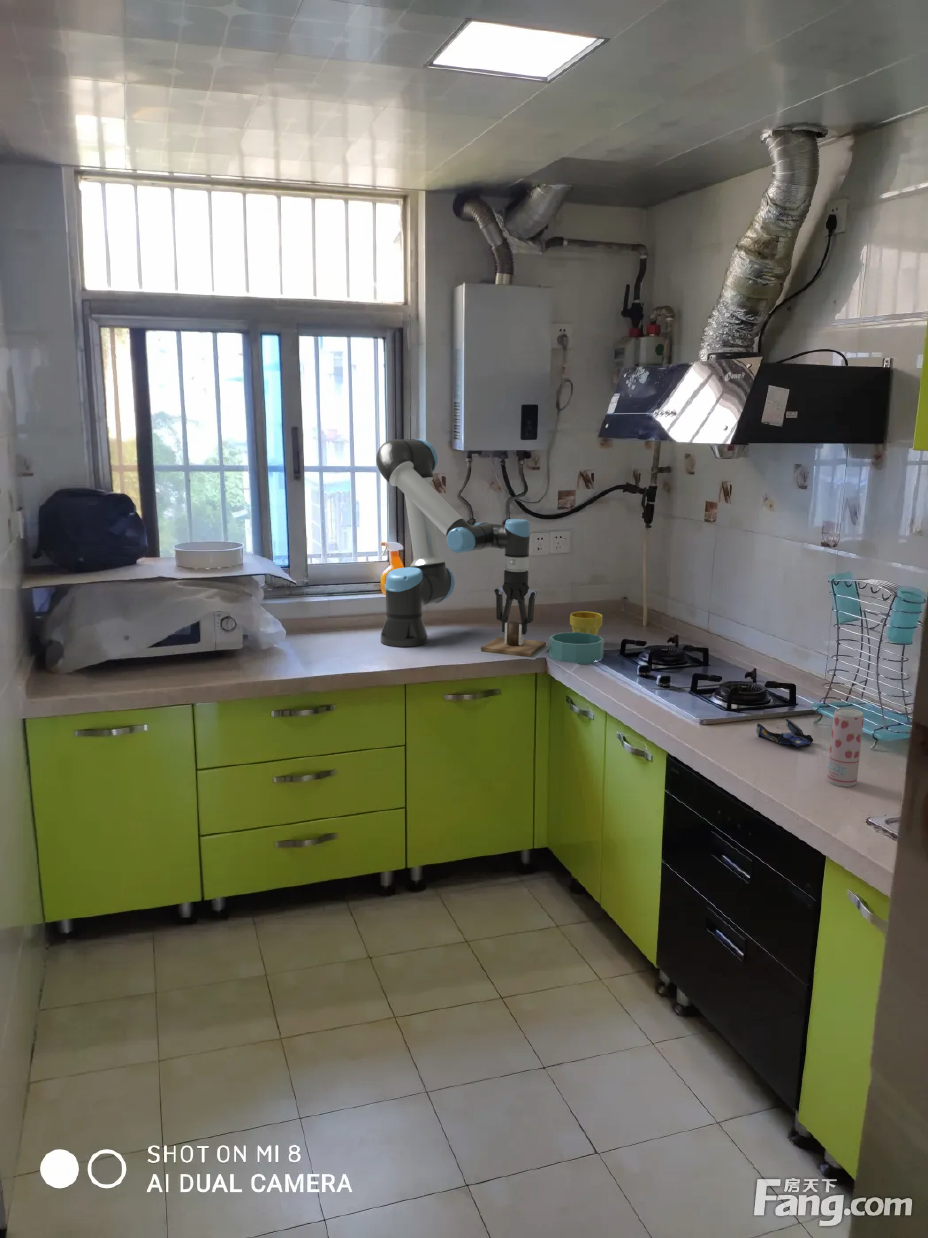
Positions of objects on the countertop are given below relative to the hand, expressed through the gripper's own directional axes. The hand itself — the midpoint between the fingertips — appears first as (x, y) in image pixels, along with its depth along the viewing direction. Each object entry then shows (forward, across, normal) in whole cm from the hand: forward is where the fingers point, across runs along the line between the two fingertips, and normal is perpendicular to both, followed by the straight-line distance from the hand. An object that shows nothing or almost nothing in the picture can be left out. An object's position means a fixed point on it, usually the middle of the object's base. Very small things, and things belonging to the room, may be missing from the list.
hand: (514, 643), depth 293 cm
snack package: (+2, +85, -54) cm, 101 cm away
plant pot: (+2, +18, +18) cm, 26 cm away
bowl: (+2, +20, 0) cm, 20 cm away
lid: (+2, 0, 0) cm, 2 cm away
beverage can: (+2, +97, -74) cm, 122 cm away
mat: (+2, 0, 0) cm, 2 cm away
